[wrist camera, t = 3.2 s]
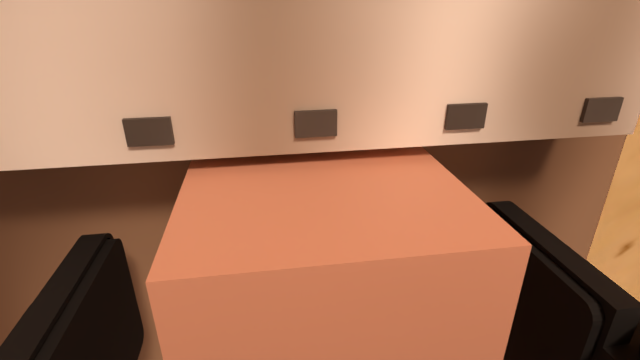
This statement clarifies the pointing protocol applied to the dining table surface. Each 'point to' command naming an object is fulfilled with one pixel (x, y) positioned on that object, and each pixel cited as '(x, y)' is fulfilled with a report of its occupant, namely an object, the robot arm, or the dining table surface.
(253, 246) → the salmon upright block
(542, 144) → the wooden base board
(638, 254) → the dining table surface
